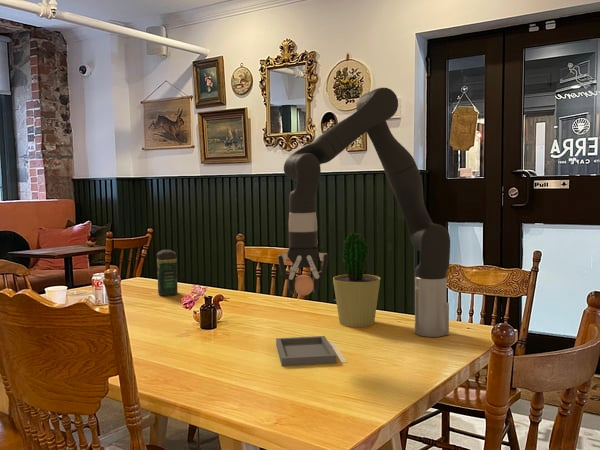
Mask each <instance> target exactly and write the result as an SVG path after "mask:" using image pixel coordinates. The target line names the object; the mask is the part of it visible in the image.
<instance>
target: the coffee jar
mask: <svg viewBox="0 0 600 450" xmlns="http://www.w3.org/2000/svg"><path fill="white" fill-rule="evenodd" d="M156 265H157V266H156V267H157V293H158V295H160V296H166V297H169V296H173V295H177V294H178V259H177V252H175V251H173V250H171V249H161V250H160V251H158V252H157V253H156Z"/></svg>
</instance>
